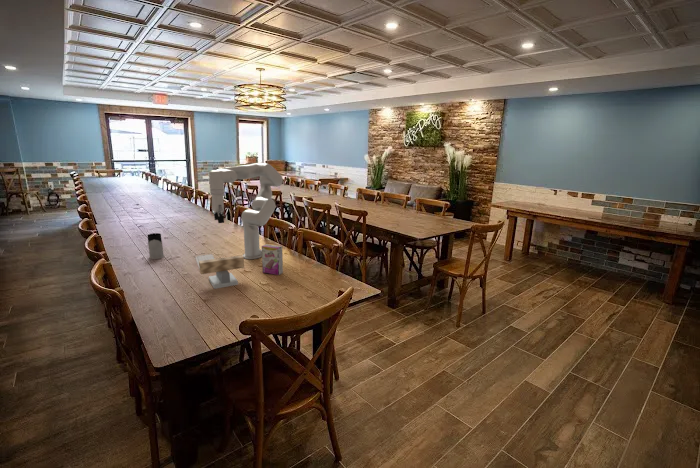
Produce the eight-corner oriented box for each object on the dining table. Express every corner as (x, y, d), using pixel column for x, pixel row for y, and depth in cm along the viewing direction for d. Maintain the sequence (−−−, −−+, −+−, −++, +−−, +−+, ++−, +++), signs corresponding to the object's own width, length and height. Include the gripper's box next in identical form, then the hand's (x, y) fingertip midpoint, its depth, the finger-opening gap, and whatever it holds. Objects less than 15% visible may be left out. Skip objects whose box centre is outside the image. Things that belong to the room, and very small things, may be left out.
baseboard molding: (197, 273, 198) (219, 270, 203) (197, 269, 197) (219, 266, 203) (192, 258, 224) (212, 256, 230) (192, 254, 223) (212, 252, 229)
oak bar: (201, 274, 176) (200, 263, 175) (199, 272, 179) (198, 261, 178) (244, 267, 188) (243, 257, 186) (242, 265, 191) (241, 255, 189)
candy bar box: (262, 273, 200) (260, 246, 196) (266, 270, 204) (265, 243, 201) (278, 275, 196) (278, 248, 192) (283, 273, 201) (282, 246, 197)
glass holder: (148, 259, 218) (145, 236, 214) (150, 253, 230) (148, 231, 227) (163, 258, 221) (161, 235, 218) (165, 252, 234) (163, 230, 230)
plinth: (231, 276, 194) (230, 264, 192) (238, 284, 182) (237, 272, 181) (208, 279, 188) (207, 267, 186) (214, 288, 176) (213, 275, 174)
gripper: (207, 190, 202) (209, 219, 206) (213, 194, 188) (215, 224, 192) (220, 190, 206) (222, 218, 210) (227, 193, 192) (229, 223, 196)
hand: (219, 221), depth 201 cm, fingers open, 9 cm apart
